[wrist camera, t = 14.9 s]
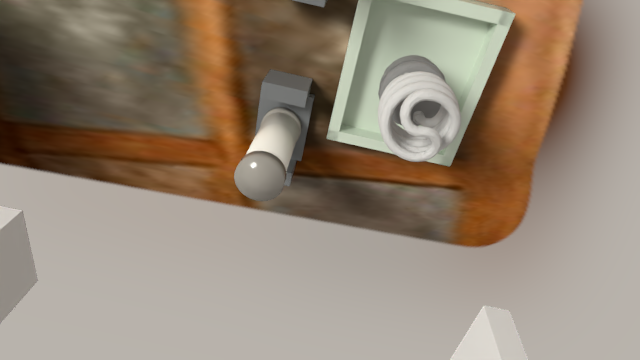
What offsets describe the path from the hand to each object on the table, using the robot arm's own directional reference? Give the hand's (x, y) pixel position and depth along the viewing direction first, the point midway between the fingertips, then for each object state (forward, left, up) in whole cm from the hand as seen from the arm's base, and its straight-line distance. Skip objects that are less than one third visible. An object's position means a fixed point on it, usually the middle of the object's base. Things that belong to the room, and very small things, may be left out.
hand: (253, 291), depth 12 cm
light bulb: (+7, -1, -29) cm, 30 cm away
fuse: (-3, -9, -30) cm, 31 cm away
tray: (+7, -1, -30) cm, 30 cm away
